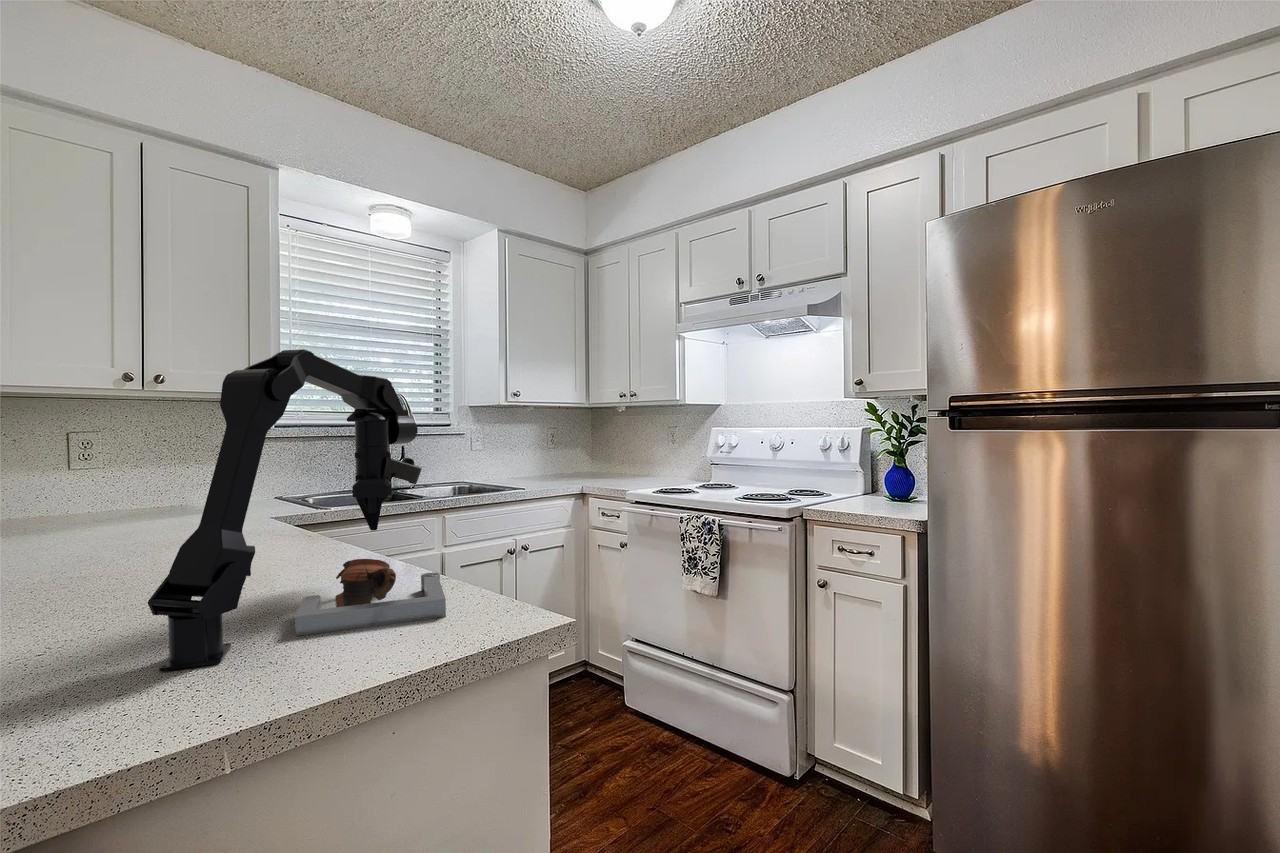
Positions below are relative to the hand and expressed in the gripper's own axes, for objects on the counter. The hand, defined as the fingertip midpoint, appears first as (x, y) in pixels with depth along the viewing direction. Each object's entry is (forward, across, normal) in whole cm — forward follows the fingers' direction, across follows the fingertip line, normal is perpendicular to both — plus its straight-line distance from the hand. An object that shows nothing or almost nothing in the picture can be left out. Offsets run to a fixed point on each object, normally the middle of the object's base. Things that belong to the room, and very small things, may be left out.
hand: (373, 530), depth 115 cm
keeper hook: (+10, -16, 0) cm, 19 cm away
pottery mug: (+10, -10, +1) cm, 15 cm away
